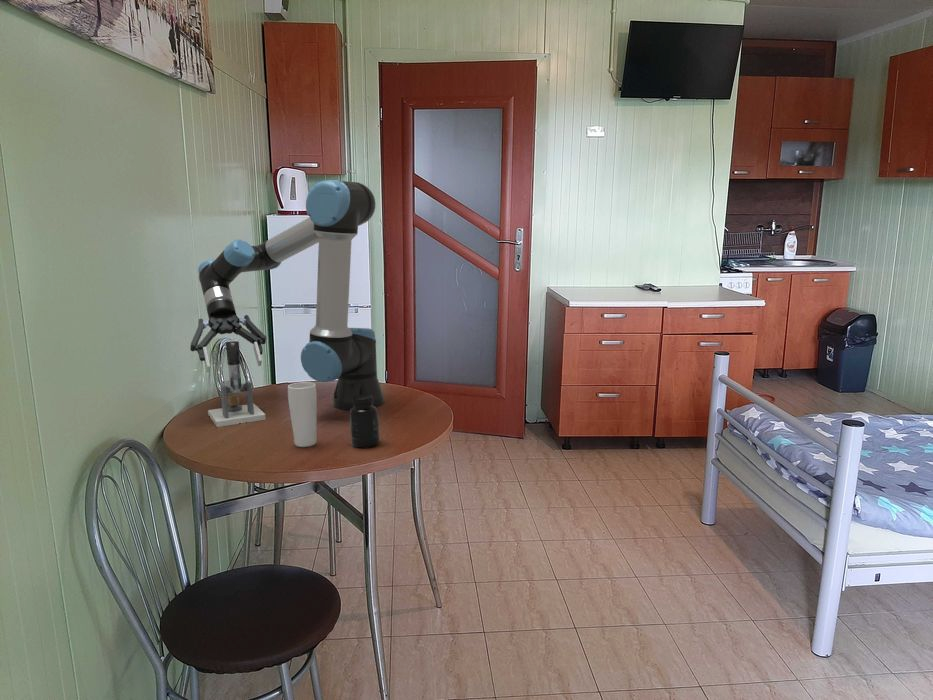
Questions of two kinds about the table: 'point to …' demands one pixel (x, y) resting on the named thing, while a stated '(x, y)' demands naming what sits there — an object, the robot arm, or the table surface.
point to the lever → (234, 368)
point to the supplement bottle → (364, 422)
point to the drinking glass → (303, 412)
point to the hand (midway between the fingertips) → (234, 366)
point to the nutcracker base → (236, 409)
